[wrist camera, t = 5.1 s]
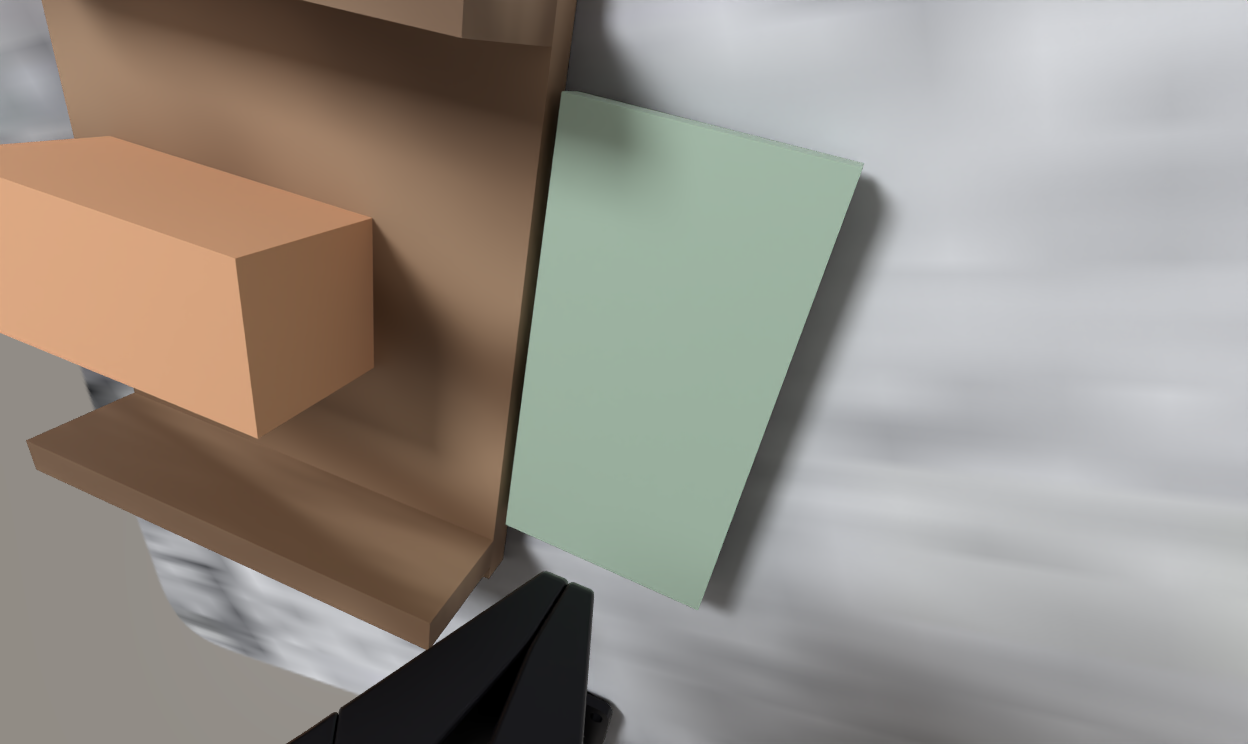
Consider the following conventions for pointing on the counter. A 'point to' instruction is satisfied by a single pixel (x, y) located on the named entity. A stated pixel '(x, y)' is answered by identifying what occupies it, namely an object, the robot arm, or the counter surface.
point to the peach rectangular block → (183, 279)
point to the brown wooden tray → (402, 277)
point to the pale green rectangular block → (663, 332)
